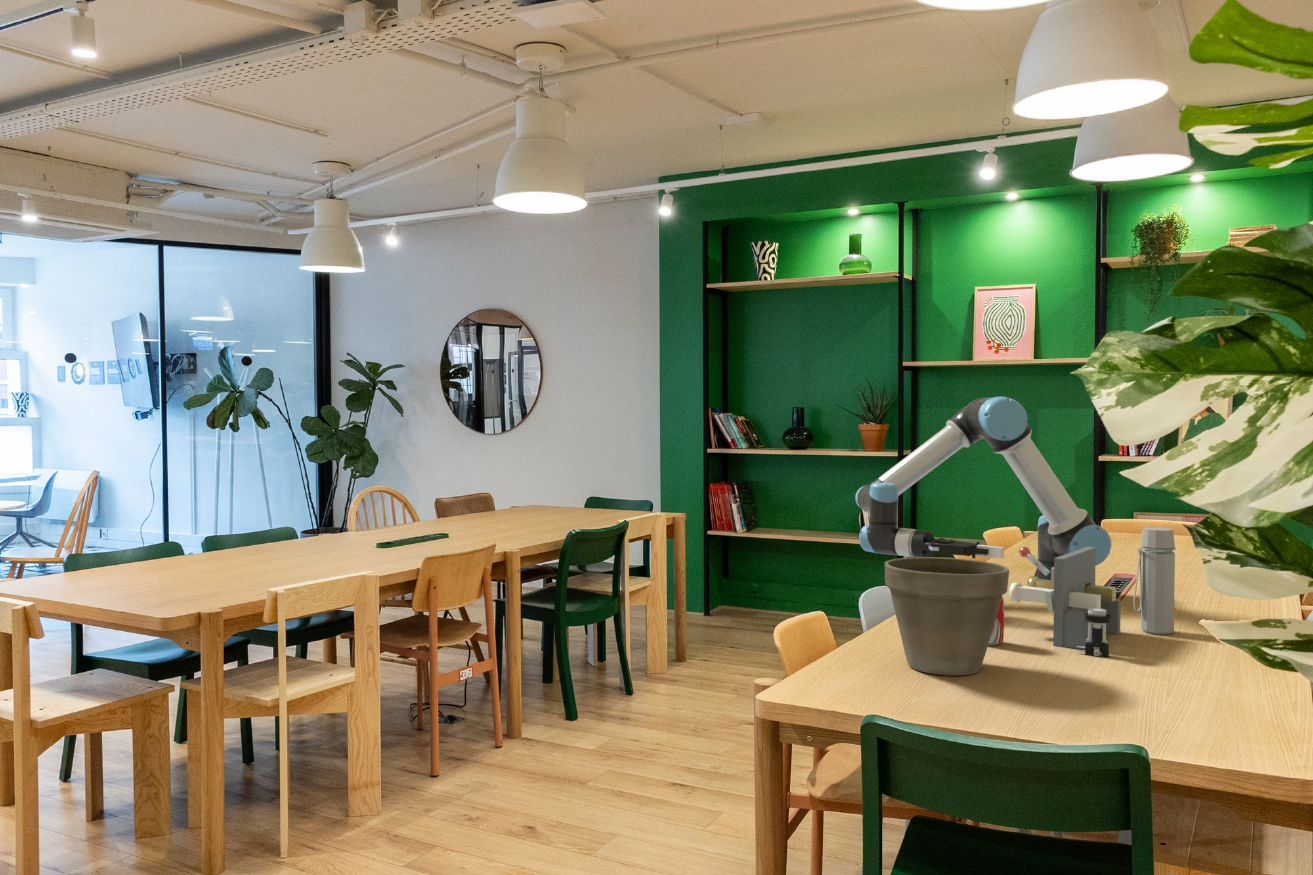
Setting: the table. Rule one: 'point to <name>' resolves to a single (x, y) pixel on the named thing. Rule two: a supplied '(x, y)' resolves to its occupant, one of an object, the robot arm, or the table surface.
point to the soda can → (998, 627)
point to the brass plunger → (1104, 591)
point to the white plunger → (1038, 594)
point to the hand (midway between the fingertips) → (1002, 552)
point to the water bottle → (1157, 580)
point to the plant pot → (945, 610)
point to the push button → (1096, 632)
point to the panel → (1073, 577)
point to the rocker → (1050, 600)
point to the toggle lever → (1033, 560)
